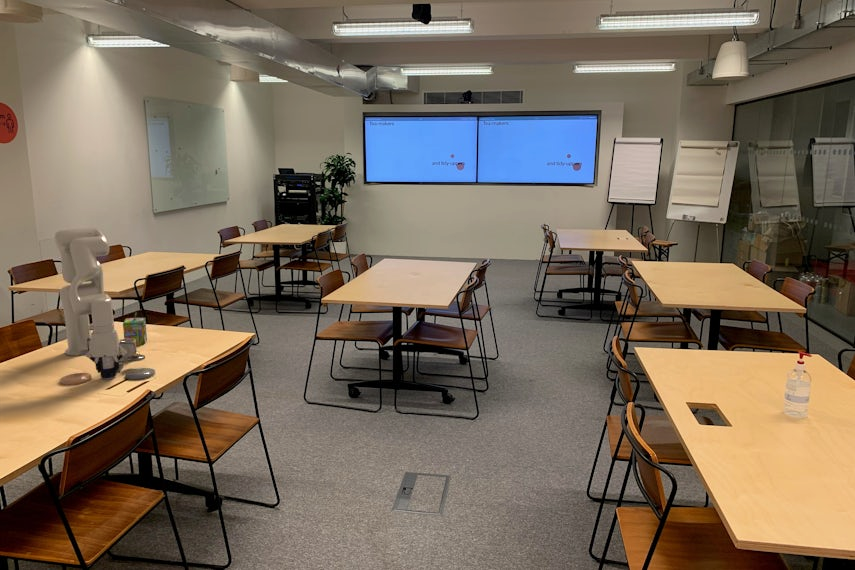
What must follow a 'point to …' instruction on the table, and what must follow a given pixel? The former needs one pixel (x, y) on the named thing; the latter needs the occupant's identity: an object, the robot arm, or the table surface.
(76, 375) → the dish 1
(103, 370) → the beverage can
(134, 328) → the green printed box
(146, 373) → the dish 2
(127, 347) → the cup
